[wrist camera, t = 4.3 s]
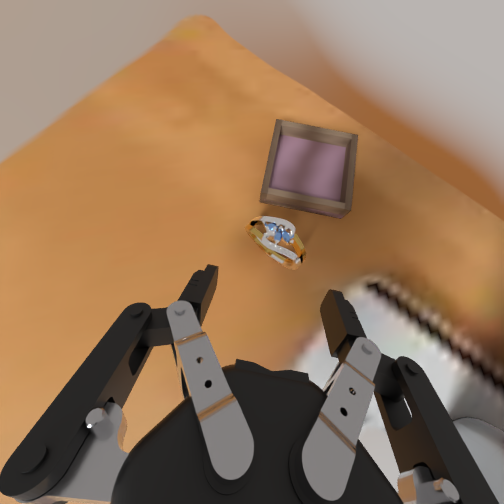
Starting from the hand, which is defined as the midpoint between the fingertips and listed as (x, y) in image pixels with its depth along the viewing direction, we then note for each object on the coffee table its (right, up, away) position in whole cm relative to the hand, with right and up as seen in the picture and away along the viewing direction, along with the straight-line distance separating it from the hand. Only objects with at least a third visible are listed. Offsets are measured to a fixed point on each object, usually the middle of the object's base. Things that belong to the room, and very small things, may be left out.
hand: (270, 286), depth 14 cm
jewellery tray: (+6, +13, +13) cm, 19 cm away
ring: (+1, +2, +10) cm, 11 cm away
